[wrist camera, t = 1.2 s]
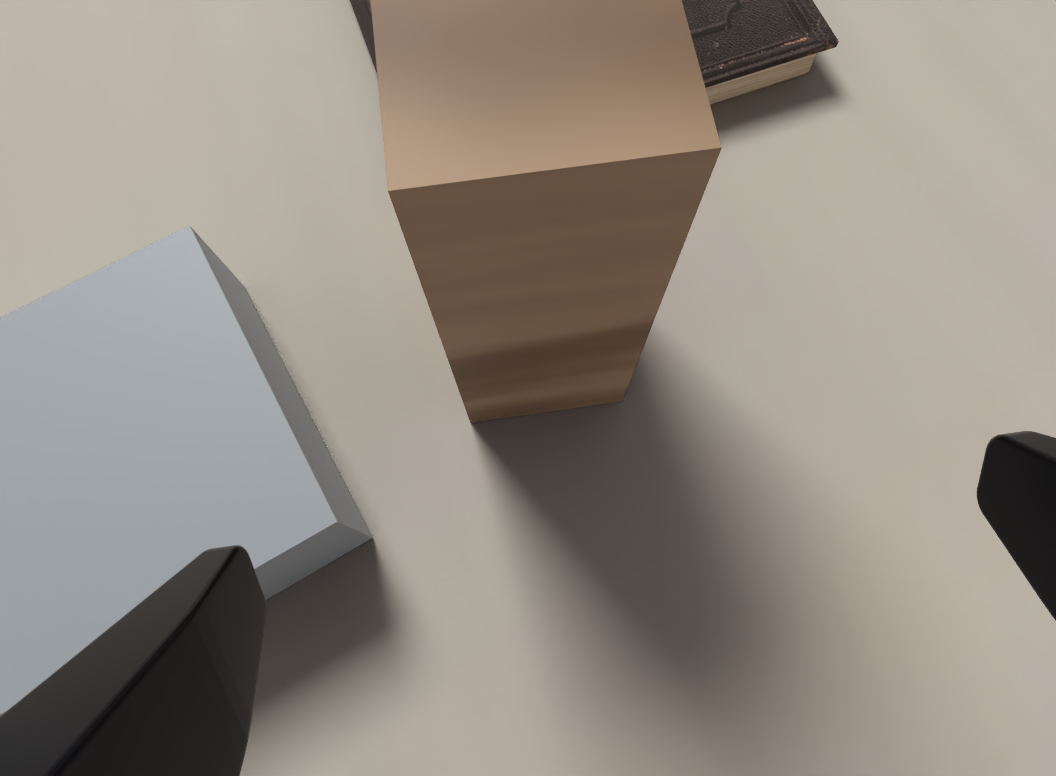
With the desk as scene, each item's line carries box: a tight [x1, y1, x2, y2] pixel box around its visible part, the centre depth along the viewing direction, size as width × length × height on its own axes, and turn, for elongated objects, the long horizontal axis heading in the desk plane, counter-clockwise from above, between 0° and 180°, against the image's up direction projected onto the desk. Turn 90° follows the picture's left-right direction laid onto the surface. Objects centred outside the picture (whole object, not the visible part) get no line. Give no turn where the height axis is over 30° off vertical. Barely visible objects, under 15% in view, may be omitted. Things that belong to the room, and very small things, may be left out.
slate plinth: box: [0, 226, 373, 716], centre depth 20 cm, size 10×10×4 cm
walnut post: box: [371, 0, 722, 423], centre depth 17 cm, size 5×5×13 cm
